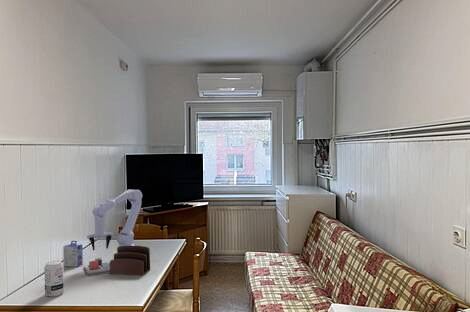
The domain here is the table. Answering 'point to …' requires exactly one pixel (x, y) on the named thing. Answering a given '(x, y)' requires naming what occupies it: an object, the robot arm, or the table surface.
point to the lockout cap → (94, 265)
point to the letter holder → (131, 260)
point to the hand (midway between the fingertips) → (100, 249)
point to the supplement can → (54, 278)
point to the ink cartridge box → (72, 255)
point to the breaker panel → (101, 269)
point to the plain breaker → (99, 261)
